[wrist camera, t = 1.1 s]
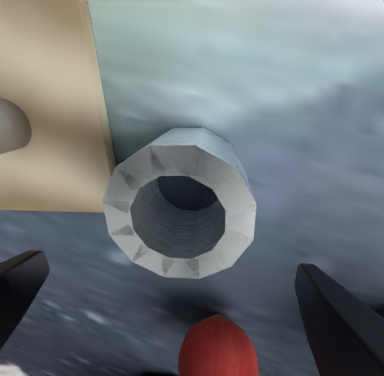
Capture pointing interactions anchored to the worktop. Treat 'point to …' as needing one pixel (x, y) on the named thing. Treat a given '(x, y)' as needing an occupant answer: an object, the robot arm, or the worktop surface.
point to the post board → (51, 109)
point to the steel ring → (175, 217)
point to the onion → (217, 350)
